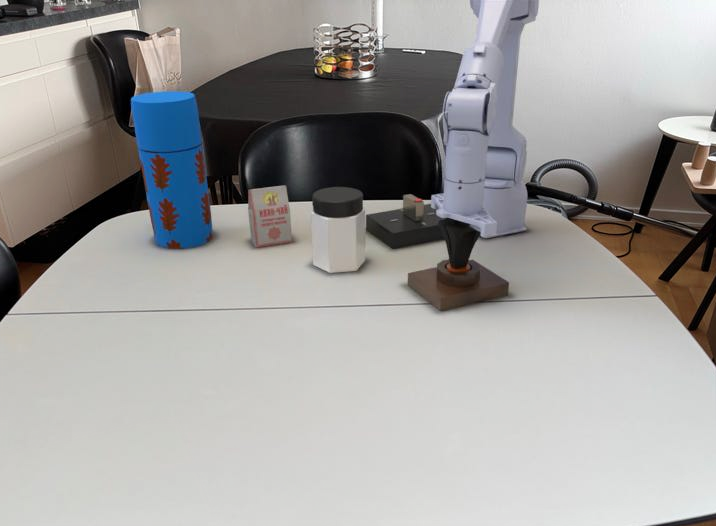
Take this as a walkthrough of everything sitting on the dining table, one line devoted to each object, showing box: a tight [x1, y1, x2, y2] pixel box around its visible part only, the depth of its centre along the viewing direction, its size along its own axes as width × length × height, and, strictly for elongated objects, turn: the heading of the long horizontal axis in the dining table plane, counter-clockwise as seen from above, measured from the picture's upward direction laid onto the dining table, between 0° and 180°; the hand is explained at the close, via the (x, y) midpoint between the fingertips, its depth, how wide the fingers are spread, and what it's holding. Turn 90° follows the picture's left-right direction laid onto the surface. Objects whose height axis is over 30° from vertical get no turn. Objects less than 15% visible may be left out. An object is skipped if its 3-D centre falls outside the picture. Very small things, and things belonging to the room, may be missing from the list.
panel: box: [365, 203, 446, 250], centre depth 127 cm, size 14×11×3 cm
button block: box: [407, 258, 510, 312], centre depth 105 cm, size 12×10×4 cm
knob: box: [402, 193, 425, 222], centre depth 125 cm, size 5×2×4 cm, turn 24°
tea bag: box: [247, 185, 293, 248], centre depth 123 cm, size 4×7×10 cm, turn 111°
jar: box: [310, 186, 366, 274], centre depth 113 cm, size 9×8×12 cm
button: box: [447, 263, 470, 272], centre depth 105 cm, size 4×4×2 cm
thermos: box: [130, 90, 214, 250], centre depth 121 cm, size 11×11×25 cm
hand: (458, 266), depth 104 cm, fingers closed, pressing on button
